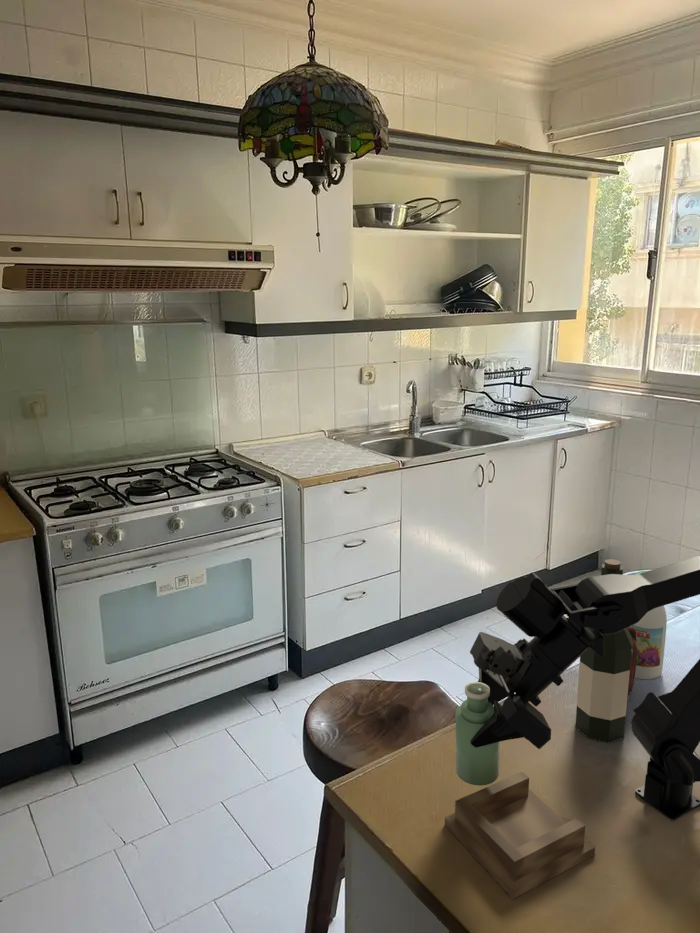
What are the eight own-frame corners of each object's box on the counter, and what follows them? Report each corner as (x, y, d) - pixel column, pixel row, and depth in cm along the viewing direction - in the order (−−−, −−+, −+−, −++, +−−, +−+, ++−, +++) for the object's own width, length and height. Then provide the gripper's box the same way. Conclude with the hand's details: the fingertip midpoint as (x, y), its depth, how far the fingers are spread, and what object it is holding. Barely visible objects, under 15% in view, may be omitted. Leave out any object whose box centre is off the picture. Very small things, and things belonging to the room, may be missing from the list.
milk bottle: (626, 656, 139) (634, 563, 134) (666, 668, 134) (676, 573, 129) (613, 672, 133) (621, 576, 128) (655, 685, 128) (664, 586, 123)
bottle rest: (521, 789, 102) (522, 765, 101) (594, 854, 90) (596, 827, 89) (444, 824, 95) (445, 799, 94) (512, 899, 83) (513, 870, 82)
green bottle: (480, 751, 101) (481, 672, 97) (508, 775, 95) (509, 692, 92) (447, 765, 98) (446, 684, 95) (473, 791, 93) (473, 706, 90)
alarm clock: (608, 678, 131) (613, 606, 127) (635, 684, 129) (641, 611, 125) (598, 708, 122) (604, 631, 118) (627, 715, 119) (634, 637, 116)
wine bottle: (634, 742, 112) (649, 571, 105) (582, 742, 112) (595, 572, 105) (615, 712, 120) (629, 552, 113) (568, 712, 120) (578, 552, 113)
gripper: (491, 589, 100) (417, 661, 103) (527, 653, 82) (437, 739, 84) (542, 635, 102) (469, 704, 105) (589, 707, 84) (499, 789, 87)
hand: (467, 730), depth 95 cm, fingers closed on green bottle, 6 cm apart
